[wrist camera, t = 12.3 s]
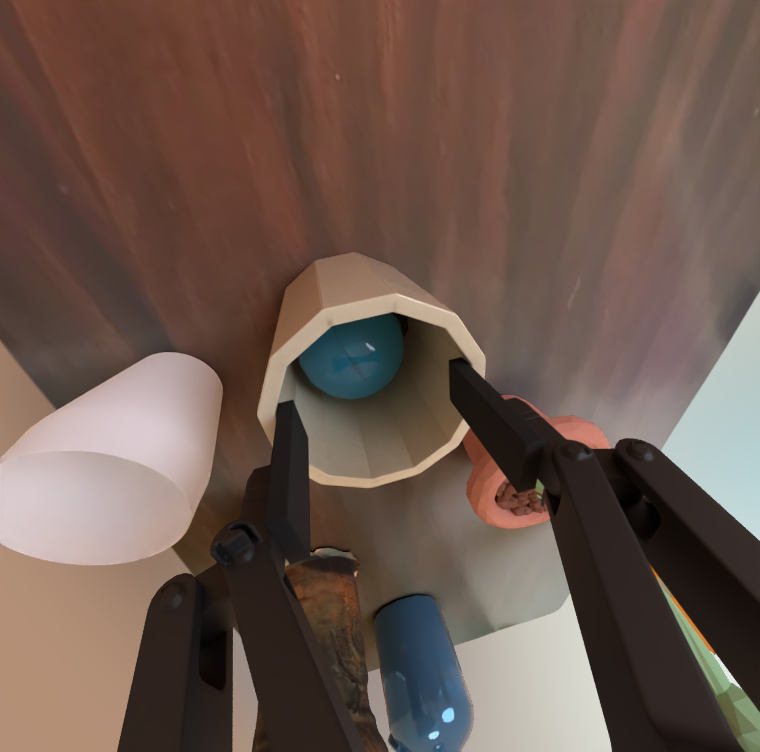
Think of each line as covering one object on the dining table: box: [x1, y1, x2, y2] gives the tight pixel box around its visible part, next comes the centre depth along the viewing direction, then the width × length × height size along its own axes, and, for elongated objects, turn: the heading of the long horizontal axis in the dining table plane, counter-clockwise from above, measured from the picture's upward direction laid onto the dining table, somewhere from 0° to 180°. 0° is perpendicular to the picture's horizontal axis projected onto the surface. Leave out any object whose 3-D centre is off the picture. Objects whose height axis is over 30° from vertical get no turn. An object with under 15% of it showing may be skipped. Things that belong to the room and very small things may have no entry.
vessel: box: [252, 548, 388, 752], centre depth 35 cm, size 14×14×20 cm
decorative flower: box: [462, 395, 760, 752], centre depth 22 cm, size 15×14×30 cm
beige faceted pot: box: [257, 252, 486, 488], centre depth 20 cm, size 12×12×12 cm
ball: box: [297, 312, 405, 400], centre depth 22 cm, size 8×8×8 cm
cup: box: [0, 352, 223, 565], centre depth 20 cm, size 9×9×12 cm
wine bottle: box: [374, 595, 474, 752], centre depth 44 cm, size 14×13×30 cm
